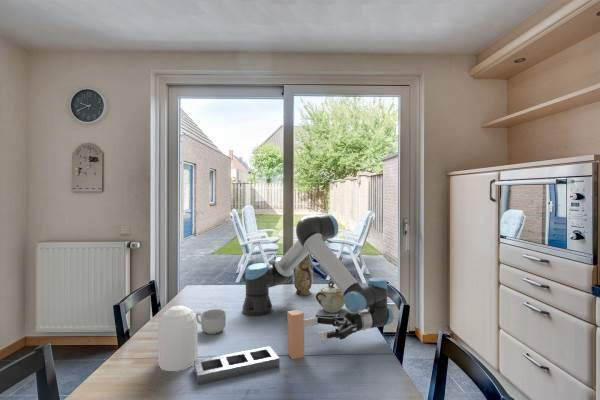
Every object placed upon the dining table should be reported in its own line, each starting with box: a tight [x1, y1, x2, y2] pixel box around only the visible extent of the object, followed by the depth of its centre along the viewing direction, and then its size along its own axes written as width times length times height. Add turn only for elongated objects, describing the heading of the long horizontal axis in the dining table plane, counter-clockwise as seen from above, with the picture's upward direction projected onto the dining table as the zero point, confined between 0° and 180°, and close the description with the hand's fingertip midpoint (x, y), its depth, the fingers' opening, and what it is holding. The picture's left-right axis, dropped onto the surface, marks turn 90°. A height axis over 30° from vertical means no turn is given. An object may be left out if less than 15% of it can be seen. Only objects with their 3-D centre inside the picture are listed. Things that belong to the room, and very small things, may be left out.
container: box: [157, 305, 199, 372], centre depth 123 cm, size 14×13×20 cm
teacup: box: [195, 308, 227, 335], centre depth 151 cm, size 14×11×8 cm
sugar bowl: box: [315, 280, 345, 314], centre depth 176 cm, size 20×15×15 cm
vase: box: [293, 254, 313, 296], centre depth 207 cm, size 10×11×30 cm
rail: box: [193, 345, 280, 386], centre depth 119 cm, size 10×27×3 cm, turn 114°
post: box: [286, 309, 305, 360], centre depth 127 cm, size 5×5×16 cm
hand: (309, 329), depth 129 cm, fingers open, 13 cm apart
